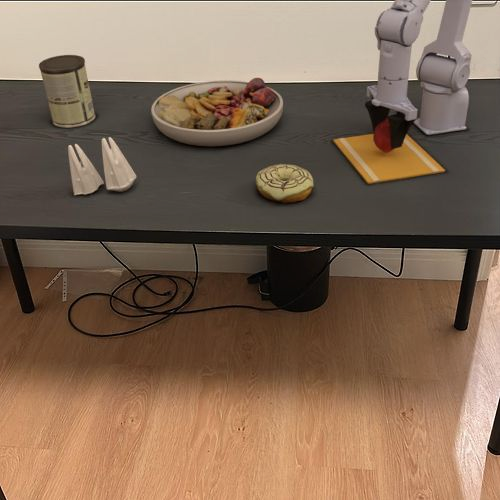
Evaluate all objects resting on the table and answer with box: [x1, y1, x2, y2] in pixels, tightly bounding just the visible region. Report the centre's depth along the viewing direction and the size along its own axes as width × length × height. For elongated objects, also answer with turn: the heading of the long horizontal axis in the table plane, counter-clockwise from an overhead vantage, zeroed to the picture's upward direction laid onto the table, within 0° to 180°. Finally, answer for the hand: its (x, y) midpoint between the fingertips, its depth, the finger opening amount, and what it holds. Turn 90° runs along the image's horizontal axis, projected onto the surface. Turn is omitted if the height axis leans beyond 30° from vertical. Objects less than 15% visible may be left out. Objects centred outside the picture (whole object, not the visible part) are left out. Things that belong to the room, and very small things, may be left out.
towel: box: [332, 133, 446, 185], centre depth 130 cm, size 16×20×1 cm
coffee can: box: [38, 54, 96, 129], centre depth 149 cm, size 10×10×14 cm
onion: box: [372, 118, 394, 153], centre depth 127 cm, size 6×6×8 cm
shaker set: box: [67, 136, 137, 196], centre depth 120 cm, size 12×4×11 cm, turn 88°
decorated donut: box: [255, 163, 315, 204], centre depth 119 cm, size 10×11×4 cm
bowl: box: [150, 77, 284, 147], centre depth 145 cm, size 30×30×8 cm
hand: (387, 140), depth 128 cm, fingers closed on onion, 6 cm apart
